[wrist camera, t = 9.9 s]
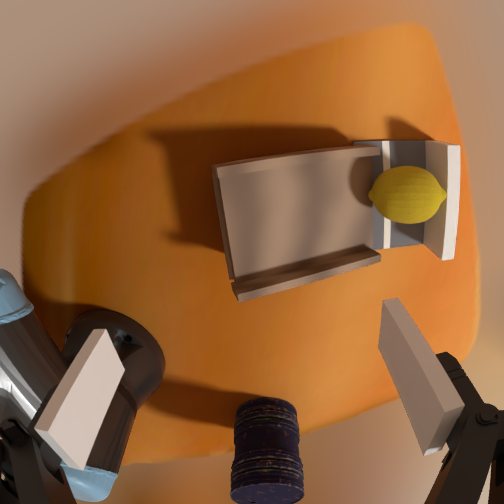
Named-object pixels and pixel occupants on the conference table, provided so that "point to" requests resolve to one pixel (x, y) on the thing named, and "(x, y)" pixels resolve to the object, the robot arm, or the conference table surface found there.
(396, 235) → the lane mat
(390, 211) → the lemon
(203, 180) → the conference table surface
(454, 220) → the rail
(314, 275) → the ramp
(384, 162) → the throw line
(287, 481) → the dark blue upright cylinder
